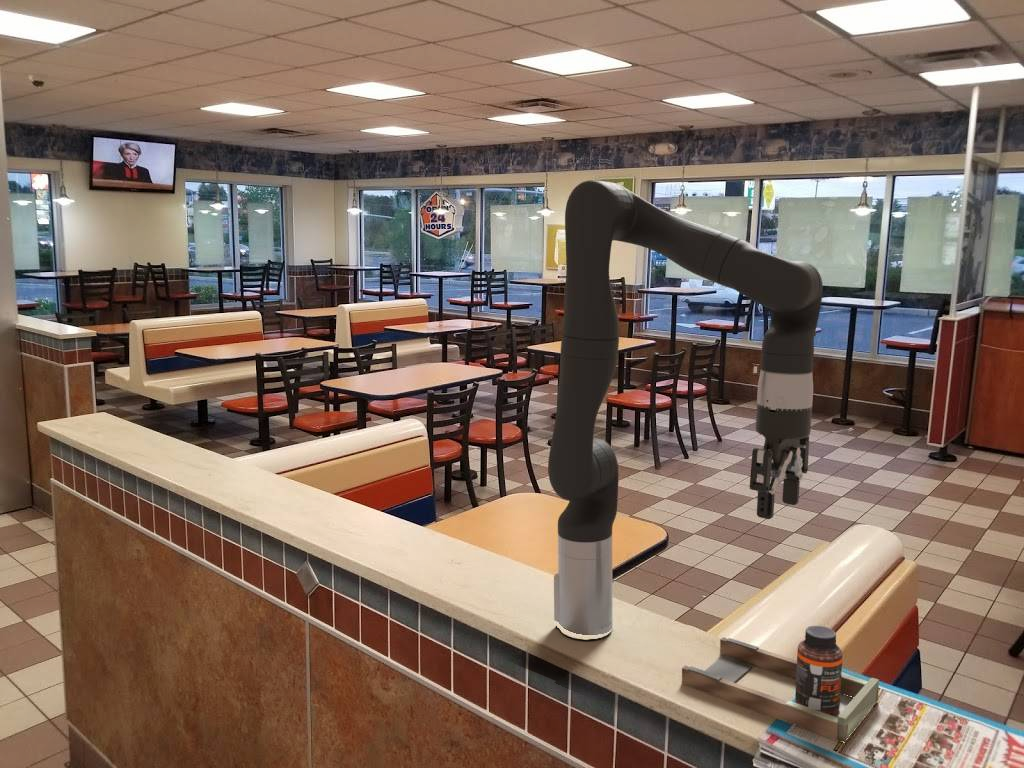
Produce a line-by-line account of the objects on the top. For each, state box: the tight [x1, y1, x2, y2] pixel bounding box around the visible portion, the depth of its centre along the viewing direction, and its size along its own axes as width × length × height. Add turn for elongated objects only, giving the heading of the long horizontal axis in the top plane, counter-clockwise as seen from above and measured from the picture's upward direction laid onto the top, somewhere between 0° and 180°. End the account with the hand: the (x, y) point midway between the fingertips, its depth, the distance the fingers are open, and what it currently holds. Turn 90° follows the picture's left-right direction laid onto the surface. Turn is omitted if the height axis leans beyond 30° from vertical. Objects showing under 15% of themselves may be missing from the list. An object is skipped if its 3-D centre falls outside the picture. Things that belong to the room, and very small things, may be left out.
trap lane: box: [681, 637, 880, 742], centre depth 118 cm, size 24×13×4 cm, turn 48°
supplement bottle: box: [794, 625, 843, 716], centre depth 114 cm, size 6×6×11 cm
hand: (777, 510), depth 119 cm, fingers open, 8 cm apart
